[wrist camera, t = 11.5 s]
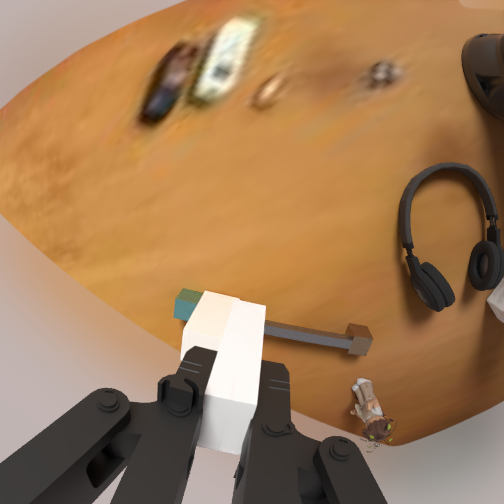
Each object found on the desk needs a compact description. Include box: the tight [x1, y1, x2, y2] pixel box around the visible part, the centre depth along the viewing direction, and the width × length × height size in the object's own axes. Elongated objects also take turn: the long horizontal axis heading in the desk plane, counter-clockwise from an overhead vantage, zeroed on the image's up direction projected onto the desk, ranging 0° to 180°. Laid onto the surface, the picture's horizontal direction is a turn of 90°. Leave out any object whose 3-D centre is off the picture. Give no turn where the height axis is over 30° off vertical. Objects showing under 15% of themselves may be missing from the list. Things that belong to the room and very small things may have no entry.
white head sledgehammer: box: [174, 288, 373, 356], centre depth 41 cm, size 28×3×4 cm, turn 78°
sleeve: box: [180, 291, 240, 360], centre depth 37 cm, size 5×4×11 cm
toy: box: [351, 378, 397, 452], centre depth 38 cm, size 6×6×15 cm
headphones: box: [399, 162, 504, 312], centre depth 35 cm, size 17×8×20 cm
